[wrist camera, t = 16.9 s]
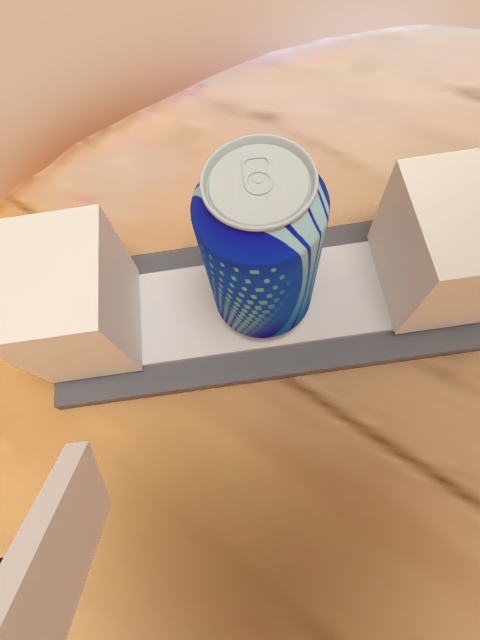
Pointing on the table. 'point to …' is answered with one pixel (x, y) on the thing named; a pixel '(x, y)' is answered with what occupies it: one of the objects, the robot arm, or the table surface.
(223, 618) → the table surface
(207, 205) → the beer can
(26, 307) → the rail board
